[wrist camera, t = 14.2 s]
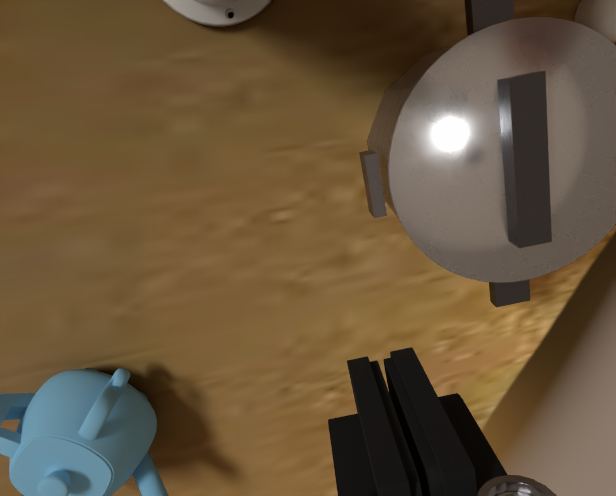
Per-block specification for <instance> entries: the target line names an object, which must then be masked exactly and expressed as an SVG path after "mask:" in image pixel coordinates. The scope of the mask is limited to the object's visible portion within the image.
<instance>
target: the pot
mask: <svg viewBox="0 0 616 496" xmlns="http://www.w3.org/2000/svg"><path fill="white" fill-rule="evenodd" d="M465 11H466V23H467V34H468V36H469V35H471V34H473V33H475V32H477V31H480V30H482V29H484V28H486V27H489V26H492V25H495V24H498V23H502V22H505V21H508V20H513V19H514V4H513V0H465ZM451 46H452V45H451ZM451 46H448V47H445V48H442V49H440V50H437V51H434V52H431V53H428V54H425V55H424V56H423V57H422V58H421V59H420V60H419V61H417V62H416V63H415V64H414V65H413V66H412V67H411V68H410V69H409V70H407V71H406V72H405V73H404V74H403V75H402V76H401V77H400V78H399V79H398V80H396V81H395V82H394V83H393V84H392V85H391V86H390V87H389V88H388V89H387V90H385V92H384V95H383V97H382V100H381V103H380V106H379V109H378V111H377V114H376V117H375V120H374V122H373V125H372V128H371V131H370V134H369V136H368V139H367V145H368V151H364V152H359V154H360V160H361V166H362V172H363V178H364V183H365V189H366V195H367V201H368V207H369V212H370V213H371V214H372V216H373V217H374V218H377V217H382V216H387V214H386V207H385V202H386V203H387V204H388V206H389V207H390V208H391V209H392V210H393V212H394V213H395V214H396V212H395V210H394V207H393V204H392V202H391V197H390V193H389V188H388V180H387V152H388V147H389V141H390V135H391V132H392V129H393V126H394V122H395V119H396V117H397V114H398V112H399V110H400V108H401V105H402V103H403V101H404V99H405V98H406V96H407V94H408V93H409V91H410V89H411V88H412V86H413V85H414V83H415V82H416V81H417V79H418V78H419V77H420V76H421V74H422V73H423V72H424V70H425V69H426V68H427V67H428V66H429V65H430V64H431V63H432V62H433V61H434V60H435V59H436V58H437V57H438V56H440V55H441V54H442V53H443V52H445V51H446V50H447V49H449V48H450V47H451ZM489 289H490V300H491V302H492V303H493V304H494V305H495V306H496V307H500V306H505V305H510V304H515V303H519V302H524V301H529V300H530V289H529V280H523V281H516V282H499V283H495V282H489Z"/></svg>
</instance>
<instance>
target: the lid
mask: <svg viewBox="0 0 616 496" xmlns="http://www.w3.org/2000/svg"><path fill="white" fill-rule="evenodd" d="M387 180H388V188H389V193H390V197H391V202H392V204H393V207H394V210H395V212H396V215H397V217H398V219H399V221H400V223H401V225H402V227H403V228H404V230H405V231H406V233H407V234H408V235H409V237H410V238H411V240H412V241H413V242H414V243H415V244H416V246H417V247H418V248H419V249H420V250H421V251H422V252H423V253H424V254H425V255H426V256H427V257H429V258H430V259H431V260H433V261H434V262H435V263H437V264H438V265H440V266H441V267H443V268H445V269H447V270H449V271H450V272H453V273H455V274H458V275H460V276H463V277H466V278H470V279H474V280H478V281H485V282H495V283H499V282H516V281H523V280H529V279H532V278H536V277H540V276H543V275H546V274H548V273H551V272H554V271H556V270H558V269H560V268H562V267H564V266H566V265H568V264H570V263H572V262H573V261H575V260H577V259H578V258H580V257H581V256H583V255H584V254H586V253H587V252H588V251H589V250H591V249H592V248H593V247H594V246H595V245H597V244H598V243H599V242H600V241H601V240H602V239H603V238H604V237H605V236H606V235H607V234H608V233H609V232H610V231H611V230H612V229H613V227H614V226H615V225H616V46H615V45H614V44H613V43H612V42H611V41H610V40H608V39H607V38H605V37H604V36H603V35H601V34H600V33H598V32H596V31H594V30H592V29H590V28H588V27H587V26H585V25H582V24H579V23H576V22H573V21H569V20H566V19H559V18H552V17H526V18H519V19H513V20H508V21H505V22H502V23H498V24H495V25H492V26H489V27H486V28H484V29H482V30H480V31H477V32H475V33H473V34H471V35H469V36H467V37H465V38H464V39H462V40H460V41H459V42H457V43H455V44H454V45H452V46H451V47H450V48H449V49H447V50H446V51H445V52H443V53H442V54H441V55H440V56H438V57H437V58H436V59H435V60H434V61H433V62H432V63H431V64H430V65H429V66H428V67H427V68H426V69H425V70H424V72H423V73H422V74H421V76H420V77H419V78H418V79H417V81H416V82H415V83H414V85H413V86H412V88H411V89H410V91H409V93H408V94H407V96H406V98H405V99H404V101H403V103H402V105H401V108H400V110H399V112H398V114H397V117H396V119H395V122H394V126H393V129H392V132H391V135H390V141H389V147H388V152H387Z"/></svg>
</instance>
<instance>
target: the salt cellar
mask: <svg viewBox="0 0 616 496" xmlns="http://www.w3.org/2000/svg"><path fill="white" fill-rule="evenodd" d="M575 22H576V23H579V24H582V25H585V26H587V27H588V28H590V29H592V30H594V31H596V32H598V33H600V34H601V35H603V36H604V37H605V38H607V39H608V40H610V41H611V42H612V43H616V0H581V1H580V3H579V5H578V7H577V10H576V13H575Z"/></svg>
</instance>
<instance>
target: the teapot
mask: <svg viewBox="0 0 616 496" xmlns="http://www.w3.org/2000/svg"><path fill="white" fill-rule="evenodd" d="M129 378H130V373H129V371H127V370H126V369H123V368H119V369H117V370H116V372H115V373H114V375H113V376H112V375H109V374H106V373H102V372H98V371H97V370H95V369H93V368H86V369H78V370H69V371H64V372H61V373H59V374H56V375H55V376H53V377H52V378H50V379H48V380H47V381H46V382H45V383H44V384H43V385H42V387H41V388H40V389H39V390H38V392H37V393H6V394H0V425H1V424H2V422H3V420H7V419H21V420H20V422H19V424H18V427H17V430H16V432H14V431H11V430H7V429H3V428H0V454H2V455H5V456H8V457H10V465H9V471H10V480H11V482H12V484H13V485H14V487H15V488H16V489H17V490H18V491H19V492H20V493H22V494H23V495H24V496H111V495H112V494H113V493H115V492H116V491H117V490H118V489H119V488H120V487H121V486H122V485H123V484H124V483H125V482H126V481H127V480H128V479H129V478H130V477H131V476H132V474H133V476H134V478H135V481H136V483H137V485H138V488H139V490H140V492H141V495H142V496H168V493H167V491H166V489H165V487H164V485H163V482H162V480H161V478H160V476H159V474H158V471H157V469H156V467H155V465H154V463H153V460H152V458H151V456H150V454H149V452H148V451H149V448H150V446H151V444H152V442H153V439H154V437H155V434H156V431H157V419H156V415H155V412H154V410H153V408H152V406H151V404H150V403H149V401H148V399H147V396H146V395H145V394H144V393H142V392H139V391H138V390H136V389H135V388H134V387H132V386H131V385H130V384H128V383H127V382H128V380H129Z"/></svg>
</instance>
